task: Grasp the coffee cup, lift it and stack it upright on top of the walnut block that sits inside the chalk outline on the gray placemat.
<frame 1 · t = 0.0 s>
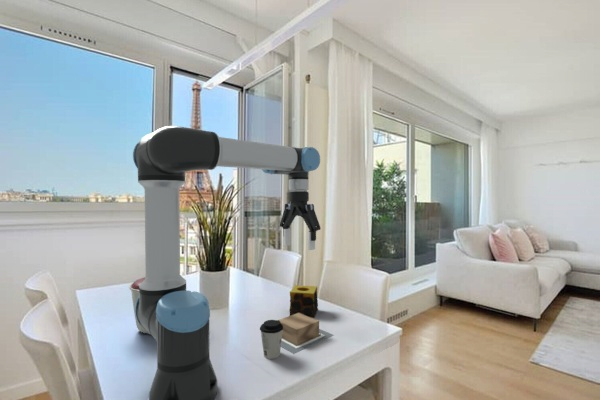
hand: (299, 247, 116), 28 cm above the table, fingers open, 13 cm apart
coffee cup: (271, 357, 91), on the table
candle: (304, 314, 124), on the table
canister: (158, 328, 111), on the table
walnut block: (298, 335, 103), point 1 cm above the table, touching gray placemat
gray placemat: (298, 337, 103), on the table
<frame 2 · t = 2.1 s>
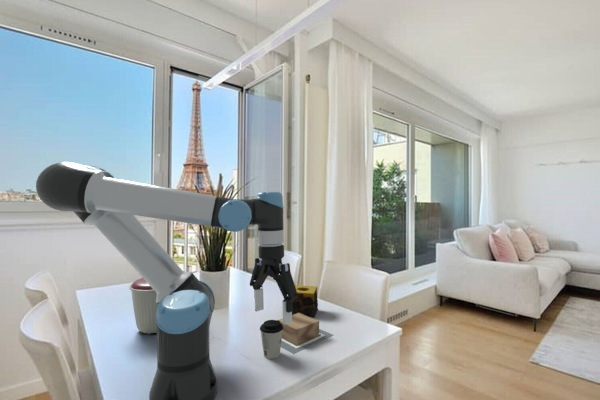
hand: (272, 316, 91), 12 cm above the table, fingers open, 13 cm apart
nothing on the table moved.
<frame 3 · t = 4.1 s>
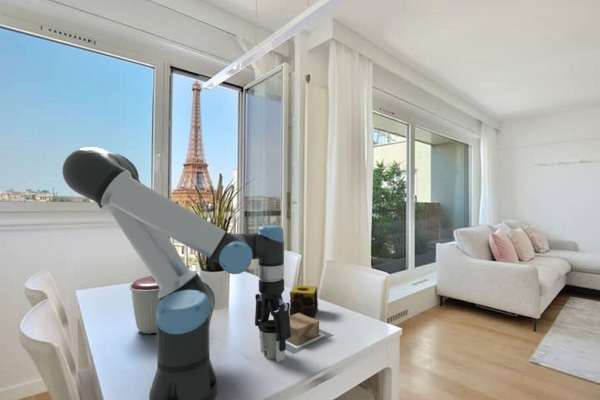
hand: (272, 355, 91), 0 cm above the table, fingers open, 7 cm apart
coffee cup: (271, 357, 91), on the table, touching gripper
everything else where it was.
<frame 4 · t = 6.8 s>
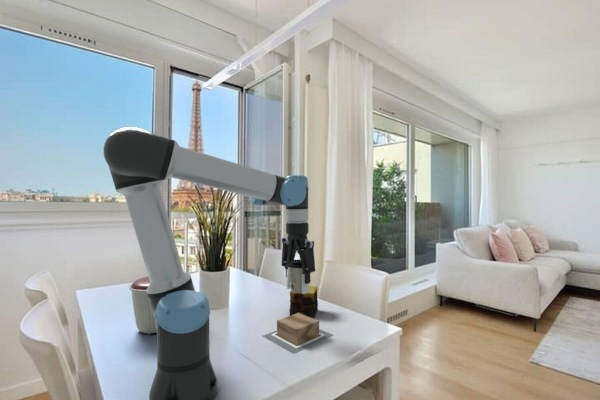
hand: (297, 290, 103), 16 cm above the table, fingers closed on coffee cup, 7 cm apart
coffee cup: (297, 291, 103), point 15 cm above the table, touching gripper
everything else where it was.
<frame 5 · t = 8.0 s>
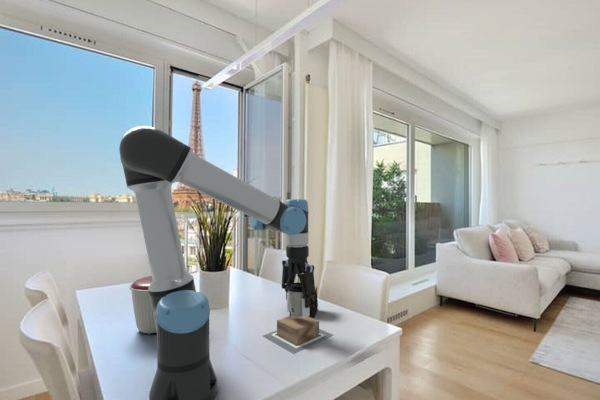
hand: (298, 313, 103), 8 cm above the table, fingers closed on coffee cup, 7 cm apart
coffee cup: (297, 314, 103), point 8 cm above the table, touching gripper
everything else where it was.
when the fingers open (7 cm above the table, at t = 9.0 s): coffee cup drops 1 cm, resting on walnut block.
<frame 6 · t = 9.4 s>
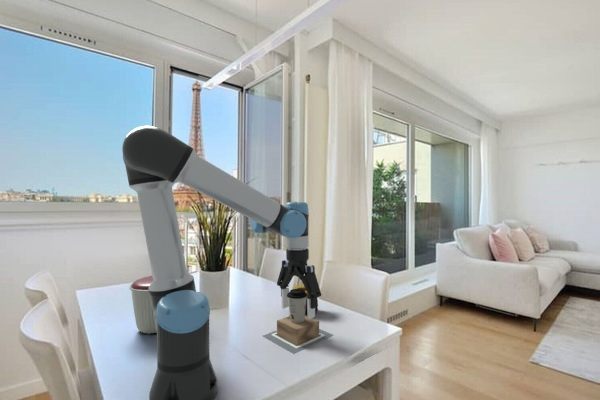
hand: (297, 312, 103), 8 cm above the table, fingers open, 12 cm apart
coffee cup: (297, 321, 103), point 5 cm above the table, touching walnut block
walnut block: (298, 335, 103), point 1 cm above the table, touching gray placemat, coffee cup
everything else where it was.
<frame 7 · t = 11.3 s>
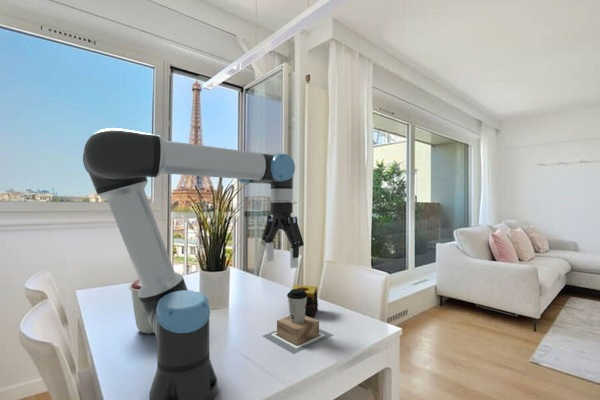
hand: (281, 264, 105), 24 cm above the table, fingers open, 13 cm apart
nothing on the table moved.
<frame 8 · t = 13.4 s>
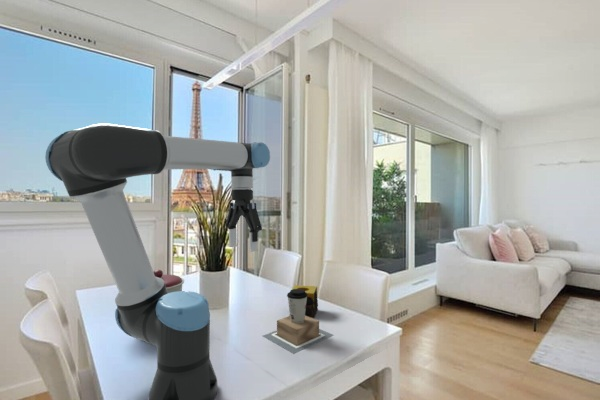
hand: (242, 248, 109), 29 cm above the table, fingers open, 13 cm apart
nothing on the table moved.
at the end: coffee cup inside the target area on the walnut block (0.2 cm from its centre), point 4.8 cm above the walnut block's base; coffee cup tilted 0°; the gripper is holding nothing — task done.
